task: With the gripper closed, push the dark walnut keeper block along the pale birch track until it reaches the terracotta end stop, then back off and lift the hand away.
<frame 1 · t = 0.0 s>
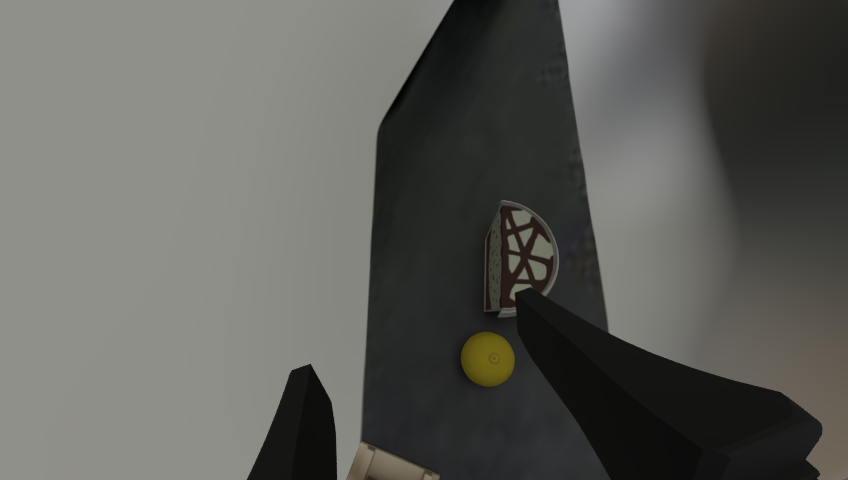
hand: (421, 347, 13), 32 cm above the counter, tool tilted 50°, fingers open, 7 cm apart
food container: (508, 276, 47), on the counter
lemon: (480, 358, 44), on the counter
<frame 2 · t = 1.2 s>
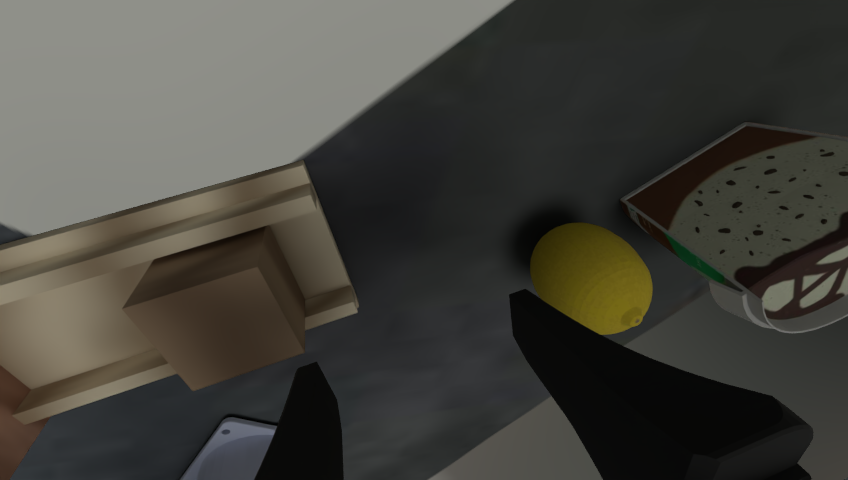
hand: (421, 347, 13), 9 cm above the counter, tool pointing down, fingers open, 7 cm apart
food container: (683, 195, 26), on the counter
keeper: (231, 302, 17), point 3 cm above the counter, slide at 0.0 cm
lemon: (545, 239, 25), on the counter
track: (122, 303, 19), on the counter
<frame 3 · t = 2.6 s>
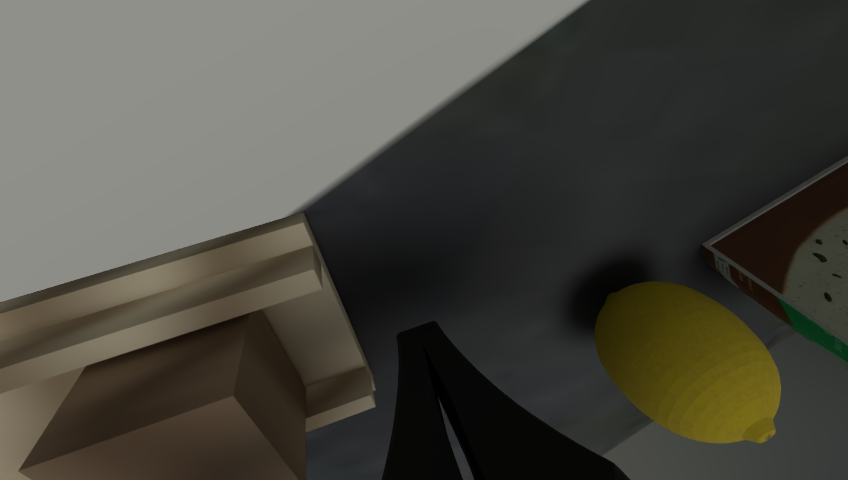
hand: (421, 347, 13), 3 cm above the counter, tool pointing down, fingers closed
food container: (774, 236, 21), on the counter
keeper: (201, 418, 12), point 3 cm above the counter, slide at 0.0 cm
lemon: (607, 293, 20), on the counter
track: (56, 402, 14), on the counter
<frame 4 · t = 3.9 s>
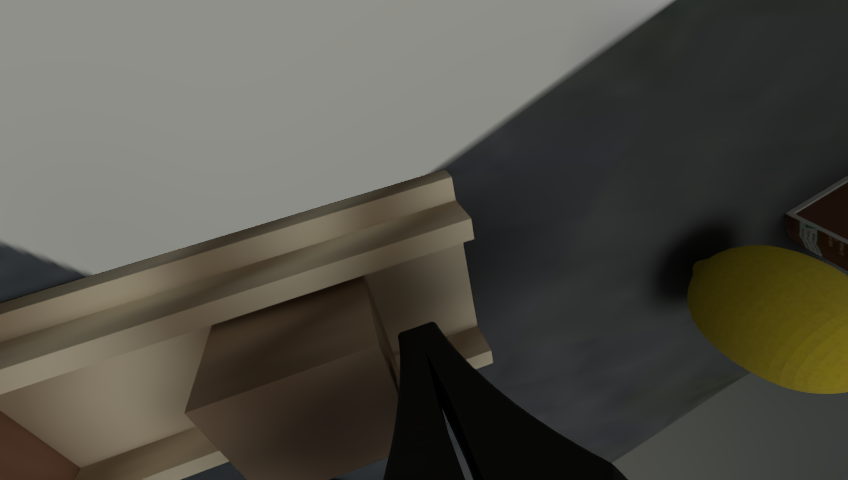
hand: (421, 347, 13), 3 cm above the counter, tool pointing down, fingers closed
keeper: (317, 377, 13), point 3 cm above the counter, slide at 1.4 cm, touching gripper
lemon: (692, 262, 20), on the counter
track: (198, 355, 15), on the counter
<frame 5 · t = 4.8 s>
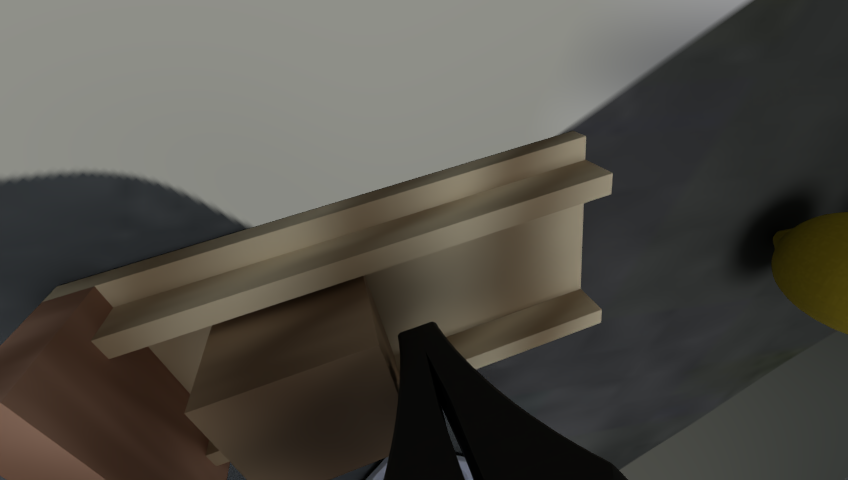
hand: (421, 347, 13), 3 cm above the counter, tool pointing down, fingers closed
keeper: (317, 377, 13), point 3 cm above the counter, slide at 6.5 cm, touching gripper
lemon: (772, 233, 21), on the counter
track: (328, 312, 15), on the counter
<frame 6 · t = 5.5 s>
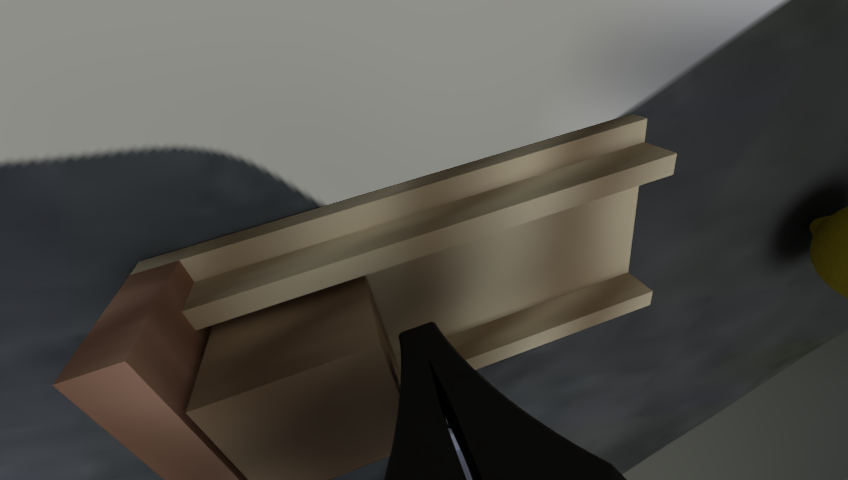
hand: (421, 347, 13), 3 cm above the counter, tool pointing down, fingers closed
keeper: (317, 377, 13), point 3 cm above the counter, slide at 9.0 cm, touching gripper
lemon: (808, 220, 21), on the counter
track: (387, 292, 16), on the counter
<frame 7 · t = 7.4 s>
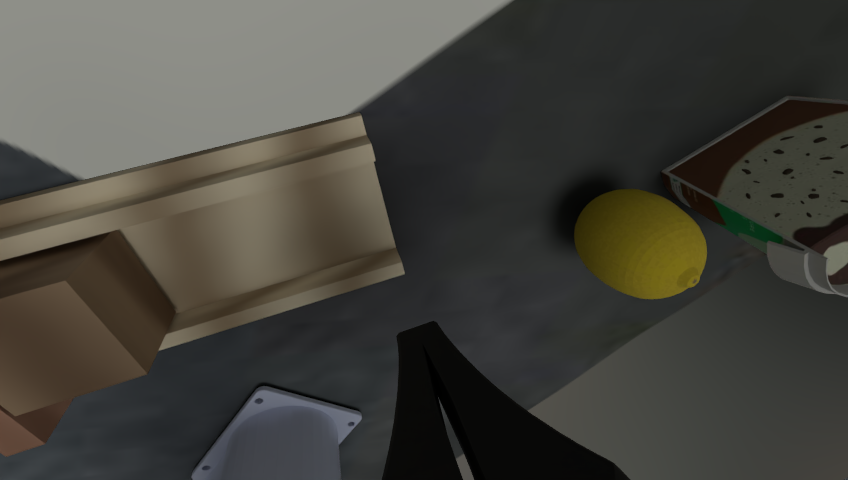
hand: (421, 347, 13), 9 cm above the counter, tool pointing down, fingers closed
food container: (721, 171, 26), on the counter
keeper: (67, 317, 15), point 3 cm above the counter, slide at 9.0 cm
lemon: (585, 210, 24), on the counter
track: (166, 257, 18), on the counter
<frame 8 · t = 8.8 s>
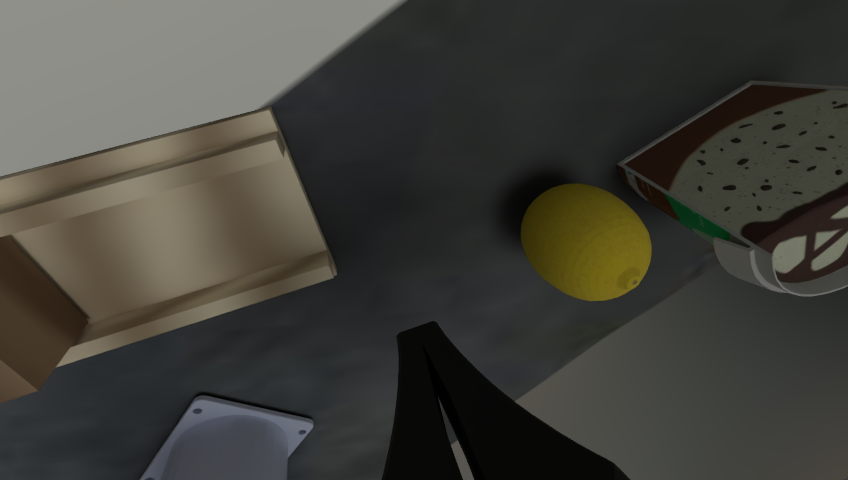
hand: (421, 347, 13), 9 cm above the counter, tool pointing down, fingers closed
food container: (684, 162, 25), on the counter
lemon: (537, 206, 23), on the counter
track: (76, 264, 17), on the counter
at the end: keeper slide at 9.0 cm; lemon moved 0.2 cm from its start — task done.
